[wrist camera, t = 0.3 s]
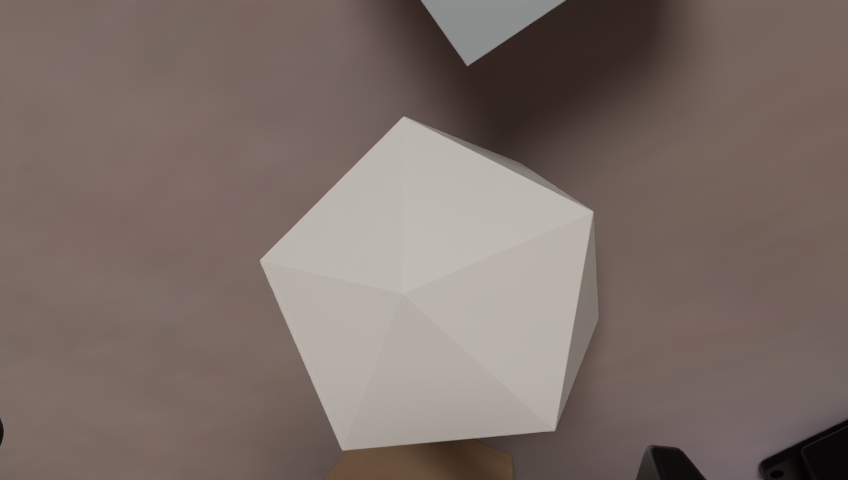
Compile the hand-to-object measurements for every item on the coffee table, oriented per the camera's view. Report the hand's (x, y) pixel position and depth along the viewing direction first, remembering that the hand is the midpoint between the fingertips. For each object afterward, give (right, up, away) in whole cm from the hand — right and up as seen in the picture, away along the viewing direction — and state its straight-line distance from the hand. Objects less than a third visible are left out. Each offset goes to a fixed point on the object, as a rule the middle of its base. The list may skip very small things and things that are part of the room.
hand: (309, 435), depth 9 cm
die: (+2, +4, +13) cm, 14 cm away
